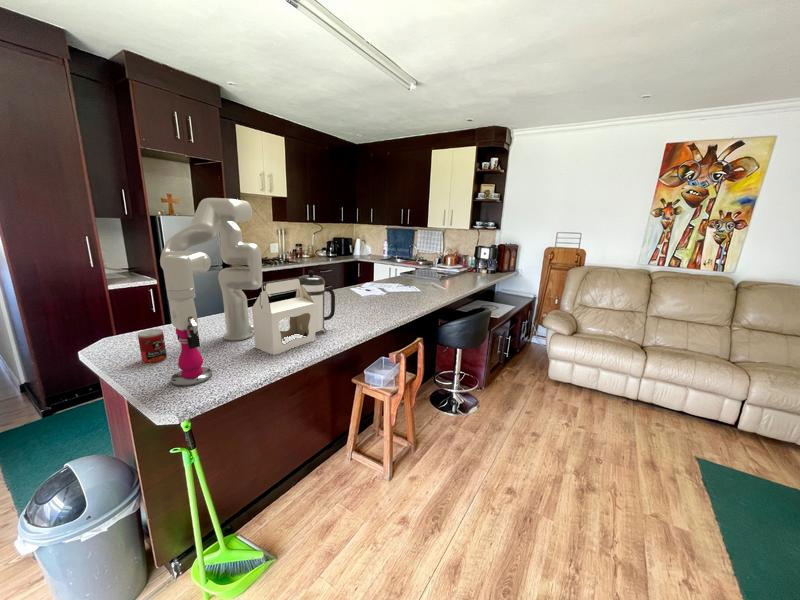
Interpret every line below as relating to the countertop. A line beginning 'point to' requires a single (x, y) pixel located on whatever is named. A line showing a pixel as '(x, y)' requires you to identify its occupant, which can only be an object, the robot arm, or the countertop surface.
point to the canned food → (152, 345)
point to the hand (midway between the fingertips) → (188, 343)
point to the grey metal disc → (183, 382)
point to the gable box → (272, 313)
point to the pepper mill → (189, 358)
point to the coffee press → (317, 298)
